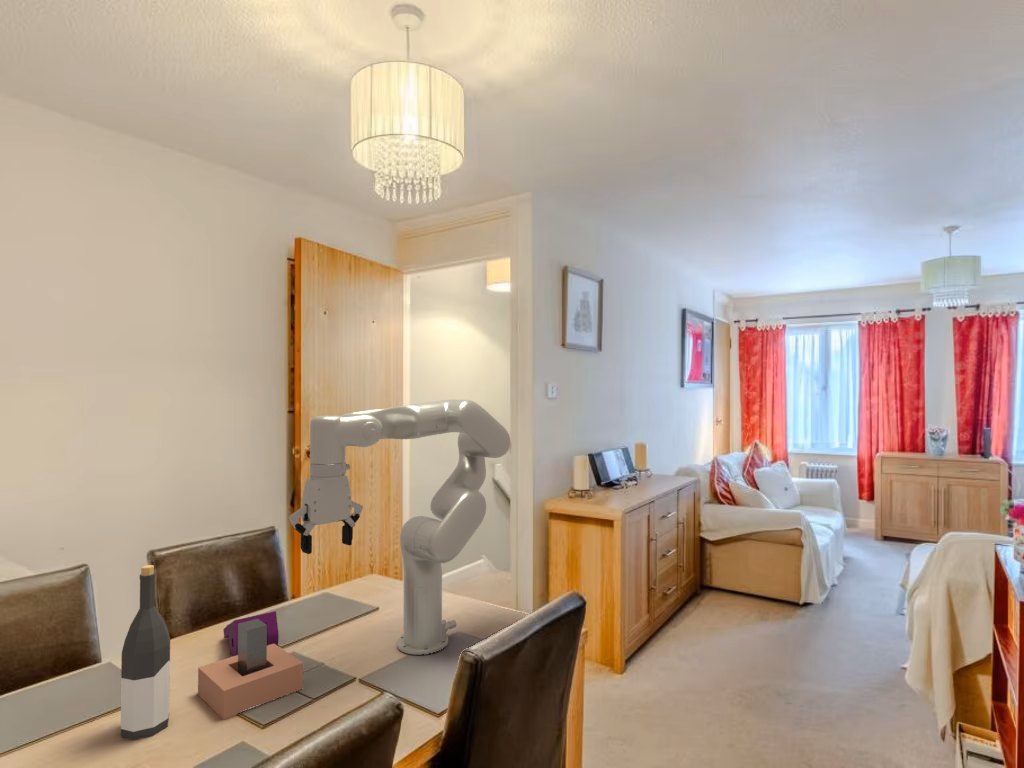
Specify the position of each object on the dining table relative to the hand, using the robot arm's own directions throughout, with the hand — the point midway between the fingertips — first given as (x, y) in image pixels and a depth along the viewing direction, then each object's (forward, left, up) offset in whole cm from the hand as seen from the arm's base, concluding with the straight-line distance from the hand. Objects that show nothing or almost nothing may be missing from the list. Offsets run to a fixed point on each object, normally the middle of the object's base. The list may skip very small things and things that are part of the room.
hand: (327, 548), depth 128 cm
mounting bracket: (+5, -30, -29) cm, 42 cm away
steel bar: (+14, -6, -28) cm, 32 cm away
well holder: (+14, -6, -28) cm, 32 cm away
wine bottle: (+33, -7, -28) cm, 44 cm away
